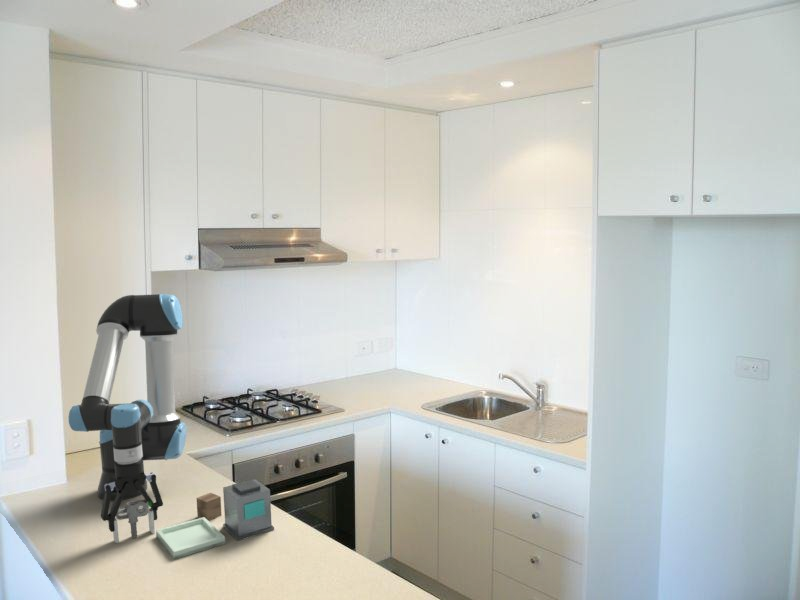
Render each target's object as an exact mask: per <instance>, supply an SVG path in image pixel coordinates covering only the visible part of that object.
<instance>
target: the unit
mask: <svg viewBox="0 0 800 600" xmlns="http://www.w3.org/2000/svg"><path fill="white" fill-rule="evenodd" d="M222 491H223V492H222V493H223V509H224V511H223V512H224V523H223V524H222V527H223V528H224V529H225V530H226V531H227V532H228V533H229V534H230V535H231V536H232V537H233V538H235V540H237V541H238V542H239V541H241V540H245V539H249V538H251V537H255V536H258V535H262V534H265V533H269V532H271V531H274V530H275V527H274V525H272V506H271V504H272V503H271V490H270V488H268V487H267V486H265V485H264V484H263V483H261V482H260V481H258V480H257V479H249V480H245V481H241V482H237V483H234V484H233V483H232V484H231V485H227V486H224V487H223V488H222Z"/></svg>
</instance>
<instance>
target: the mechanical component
mask: <svg viewBox="0 0 800 600" xmlns="http://www.w3.org/2000/svg"><path fill="white" fill-rule="evenodd" d="M151 506H152V504H151V501H149V503H148V501H146V500H145V499H138V500H132V501H129V502H126V506H125V507H124V508H120V507H119V509H118V512H117V514H116V516H115V518H116V519H117V520H118V521H121V520H127V519H128V521H127V522H128V524H129V525H130V534H131V539H135V538H138V529H137V523H138V522H139V519H138V518H140V517H146V516H147V515H148V508H151ZM140 507H142V508H140Z"/></svg>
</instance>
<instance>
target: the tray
mask: <svg viewBox="0 0 800 600" xmlns="http://www.w3.org/2000/svg"><path fill="white" fill-rule="evenodd" d="M155 534H156V536H155V537H156V538H157V539H158V541H159V542H160V543H161V544H162V546H163V547H164V548H165V549H166V550H167V552H168V553H169V554H170V555H171V557H172V558H173V559H174V560H176V559H179V558H183V557H186V556H189V555H192V554H193V555H194V554H196V553H199V552H203V551H206V550H209V549H213V548H216V547H219V546H222V545H225V544H226V537H225V535H224V534H223V533H221V532H220V530H219V529H217V528H216V527H215V525H213V524H212V523H211V521H210V520H209V521H208V520H207V519H206V518H205V517H202V518H199V517H197V518H196V519H192V520H188V521H183V522H181V523H178V524H174V525H170V526H166V527H163V528H159V529H156V530H155Z"/></svg>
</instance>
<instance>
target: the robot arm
mask: <svg viewBox="0 0 800 600" xmlns="http://www.w3.org/2000/svg"><path fill="white" fill-rule="evenodd" d="M183 322H184V319H183V312H182V307H181V303H180V302H179V299H178V298H177V296H175V295H174V294H169V293H167V294H165V293H160V294H136V295H135V294H127V295H123V296H122V297H119V298H117V299H115V301H113V302H112V303H110V305H108V306H107V308H106V309H105V310H104V312H103V313H102V314H101V316H100V318H99V320H98V322H97V326H96V329H95V331H96V334H97V336H98V337H97V341H96V344H95V349H94V352H93V356H92V359H91V363H90V364H91V365H90V368H89V372H88V376H87V380H86V384H85V387H84V388H85V389H84V392H83V396H82V400H81V402H80V403H81V404H78V405H73V406H72V407H71V409H70V410H69V412H68V425H69V427H70V429H71V430H72V431H74V432H87V433H88V432H95V431H99V441H98V444H99V448H100V450H99V451H100V460H101V470H102V471H101V475H100V479H99V482H98V486H97V494H98V498H99V499H101V500H102V501H103V502H102V506H101V512H100V518H101V520H102V521H103V522H106V521H107V522H108V529H109V531H110V532H111V533H113V534H112V535H113V541H114V543H115V544H119V543H120V539H119V538H120V537H119V528H118V527H119V526H118V525H119V524H118V519H117V518H116V514H117V512H118V509H119V508H120V507H121V505H122V502H123V500H128V499H131V498H135V497H138V496H140V495H142V497H143V498H144V500H146V501H148V503H149V501H151V504H152V506H151V507H149V508H148V514H147V515H148V517H147V518H148V527H149V528H148V530H149V532H151V534H156V530H155V529H156V528H155V521H157V520H158V510H159V508H160V507H163V506H164V501H163V499H162V496H161V493H160V491H159V488H158V485H157V475H156V474H155V473H154V472H150V473H147V474H146V473H145V467H144V461H159V460H165V461H168V460H176V459H178V458H180V456H181V455H182V454H183V452H184V449H185V445H186V442H187V441H186V439H187V424H186V423H185V422H183V421H181V416H180V415H179V414H178V413H177V412H176V397H175V395H176V394H175V372H174V371H175V370H174V369H175V367H174V365H175V364H174V340H175V338H176V337H177V336H178V331H179V330H182V327H183ZM132 331H134V332H135V331H139V337H140V338H141V339H142V340H144V345H145V346H144V347H145V348H144V349H145V370H146V371H145V372H146V400H145V399H135V400H134V401H131V402H130V403H128V402H127V403H110V401H111V397H112V392H113V388H114V384H115V380H116V375H117V370H118V365H119V362H120V358H121V353H122V348H123V344H124V341H125V340H127V338H128V336H129V333H130V332H132ZM148 483H149V485H150V488H151V491H152V493H153V497H154V500H155V502H154V501H153V500H152V498H151V497H150V495H149V494H148V492H147V489H148ZM111 501H113V503H112V505H111ZM110 506H111V507H110Z"/></svg>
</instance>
